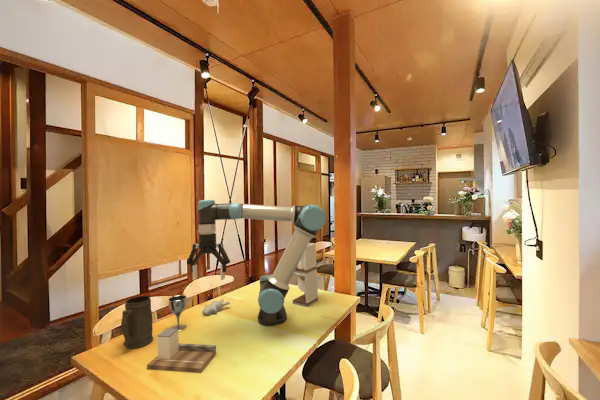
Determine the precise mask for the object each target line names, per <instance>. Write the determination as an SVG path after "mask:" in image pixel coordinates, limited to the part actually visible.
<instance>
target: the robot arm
mask: <svg viewBox="0 0 600 400" xmlns="http://www.w3.org/2000/svg"><path fill="white" fill-rule="evenodd" d="M197 214H198V215H197V218H198V219H197V221H198V241H199V243H193V244H192V249H191V252H190V253H189V257H188V259H187V261H186V264H187V265H189V266H190V272H191V273H192V280H193V281H194V280H197V279H198V276H199V275H198V274H199V273H198V264H197V262H198V261H199V260H200V258H202V256H203V254H205V255H207V254H209V255H210V254H212V255H213V256H214V257H215V258H216V259H217V261H218V262H219V263H220V265H219V267H220V281H224V280H225V279H226V272H227V265H228V264H230V263H231V260H230V258H229V256H228V254H227V251H226V250H225V248H224V243H223V242H221V243H217V233H216V232H217V228H216V222H217V221H221V220H222V221H223V220H224V221H225V220H240V219H246V220H259V221H261V220H262V221H273V222H274V221H276V222H277V221H278V222H291V223H292V224H294V225H293V228H294V232H293V234H292V235H291V237H290V239H289V241H288V244H287V245H286V247H285V250H284V251H283V253H282V255H281V257H280V259H279V261H278V263H277V265H276V267H275V269H274V271H273V273H272V274H266V275H265V274H264V275H262V276H260V277H259V285H260V286H259V292H258V296H257V297H258V299H257V302H258V306H259V310H258V315H257V322H258V324H260V325H262V326H265V327H274V326H279V325H282V324H284V323H285V322H286V321H287V320H288V313H287V311H286V308H285V305H284V304H285V298H286V296H287V294H288V292H289V291H290V285H289V283H290V281H291V279H292V277H293V275H294V274H293V273H294V271H295V269H296V267H297V265H298V263H299V261H300V259H301V257H302V255H303V253H304V251H305V249H306V247H307V245H308V243H310V242H311V240H312V239H313V238H315V237H317V234H318V233H319V231H320V229H322V228H323V226H324V225H325V222H326V213H325V211H324V210H323V208H321V207H320V206H319V205H316V204H304V205H292V206H280V205H278V206H277V205H265V204H264V205H263V204H251V203H250V204H249V203H239V202H238V203H237V202H231V203H216V201H215V199H200V200H199V201H198V202H197ZM198 249H199V251H198ZM218 250H219V251H218ZM197 252H198V253H197ZM196 253H197V254H196Z"/></svg>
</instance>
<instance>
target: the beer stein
mask: <svg viewBox="0 0 600 400" xmlns="http://www.w3.org/2000/svg"><path fill="white" fill-rule="evenodd" d="M151 303H152V300H151V297H150V295H149V296H148V295H139V296H134V297H132V298H128V299H127V300H126V301H125V303H124V304H125V305H124V308H125V309H124V310H122V318H121V323H120V329H121V333H122V335H123V338H124V341H123V346H124V347H125V348H127V349H130V350H133V349H134V350H135V349H139V348H143V347H145V346H147V345H149V344H151V342H152V341H154V337H153V328H154V327H153V314H152V313H153V311H152V305H151Z"/></svg>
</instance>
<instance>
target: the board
mask: <svg viewBox="0 0 600 400" xmlns="http://www.w3.org/2000/svg"><path fill="white" fill-rule="evenodd" d="M216 354H217V345H215V344H198V343H197V344H196V343H193V344H192V343H180V342H179V351H178V352H177V353H176V354H175V355H174V356H173V357H172V358H170V359H158V355H157V356H155V357H154V358H153V359H152V360H151V361H150V362H148V363H147V364H146V369H147V370H160V371H173V372H189V373H199V374H200V373H202V372H203V371H204V370H205V368H206V367H208V365H209V364H210V362H211V361H212V360H213V359H214V357H215V356H216Z"/></svg>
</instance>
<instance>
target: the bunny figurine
mask: <svg viewBox="0 0 600 400" xmlns="http://www.w3.org/2000/svg"><path fill="white" fill-rule="evenodd" d="M230 304H231V303H230V301H228V300H227V301H225V302H224V299H220V300H214V301H212V302H211V303H210V304H207V305H205V306H204V308H203V309H202V311H201V313H202V314H203V315H205V316H211V315H213V314H217V313H219V312H220V311H222V309H223V308H224V306H228V305H230Z"/></svg>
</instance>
